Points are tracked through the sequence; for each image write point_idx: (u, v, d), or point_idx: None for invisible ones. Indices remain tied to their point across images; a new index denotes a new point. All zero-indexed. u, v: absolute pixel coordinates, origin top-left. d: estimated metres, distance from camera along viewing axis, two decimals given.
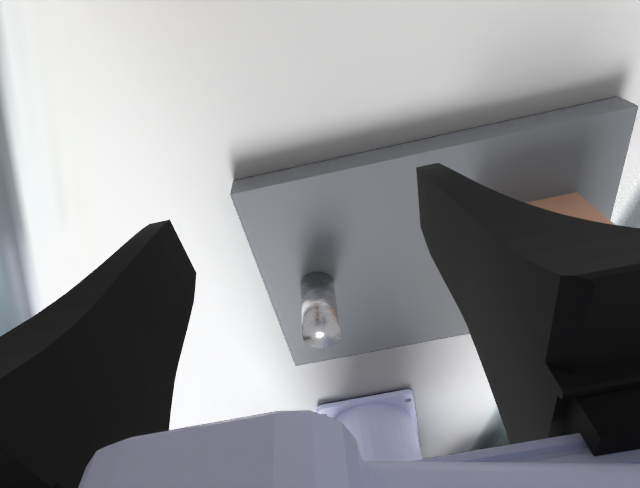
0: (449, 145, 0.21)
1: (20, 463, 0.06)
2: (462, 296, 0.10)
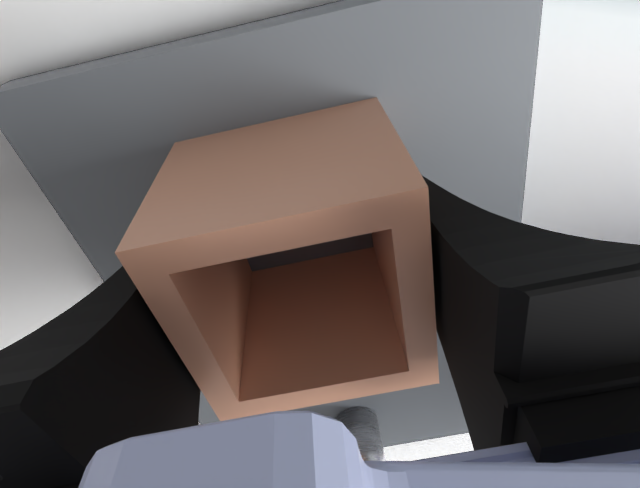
0: None
1: (69, 454, 0.06)
2: None
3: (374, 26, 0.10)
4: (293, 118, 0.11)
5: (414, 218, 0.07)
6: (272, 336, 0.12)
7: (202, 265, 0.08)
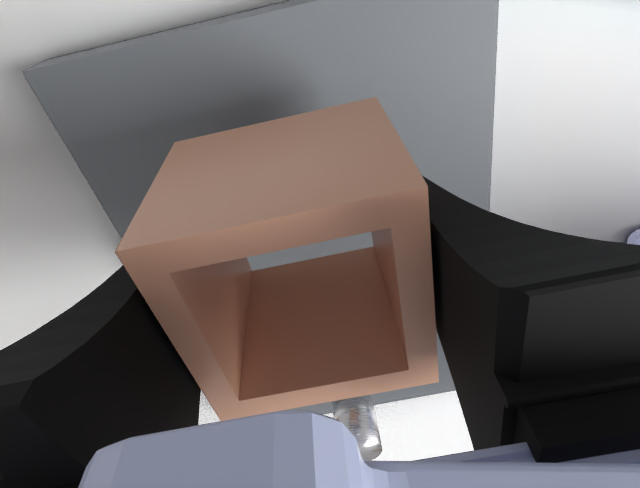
0: None
1: (68, 454, 0.06)
2: None
3: (358, 11, 0.12)
4: (292, 117, 0.11)
5: (413, 217, 0.08)
6: (272, 335, 0.12)
7: (202, 264, 0.08)
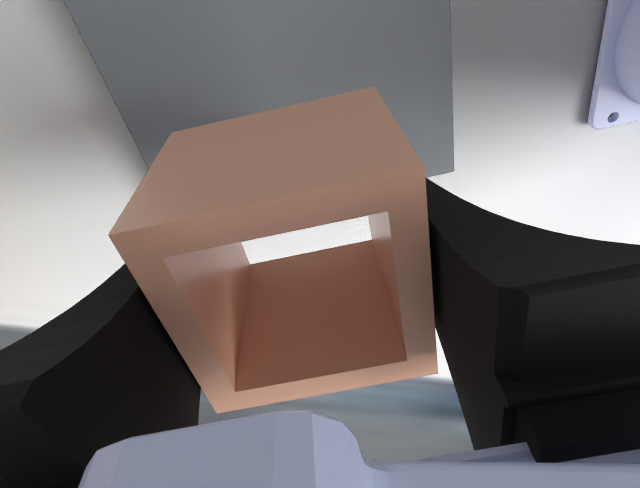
0: None
1: (68, 454, 0.06)
2: None
3: None
4: (290, 107, 0.11)
5: (411, 200, 0.07)
6: (269, 327, 0.12)
7: (197, 249, 0.08)
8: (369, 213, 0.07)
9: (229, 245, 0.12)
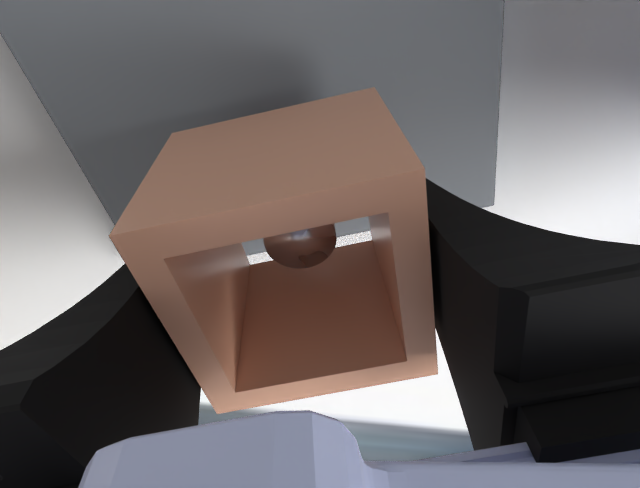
0: None
1: (68, 455, 0.06)
2: None
3: None
4: (290, 108, 0.11)
5: (411, 201, 0.07)
6: (269, 328, 0.12)
7: (197, 249, 0.08)
8: (369, 214, 0.08)
9: (229, 245, 0.12)
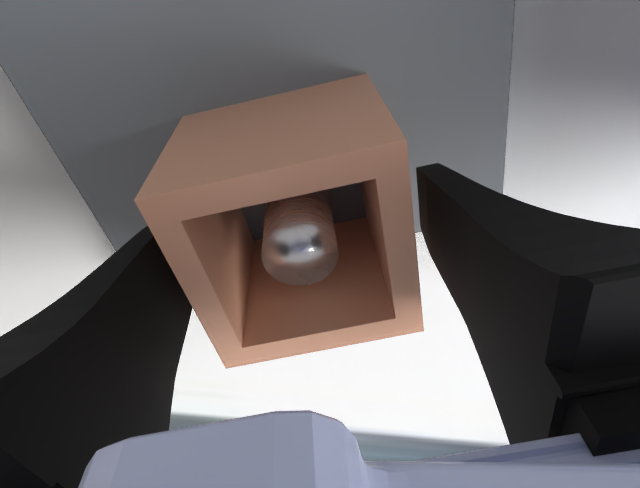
0: None
1: (20, 463, 0.06)
2: (462, 296, 0.10)
3: None
4: (290, 92, 0.12)
5: (395, 169, 0.09)
6: (272, 294, 0.13)
7: (210, 213, 0.09)
8: (359, 180, 0.09)
9: (235, 220, 0.13)
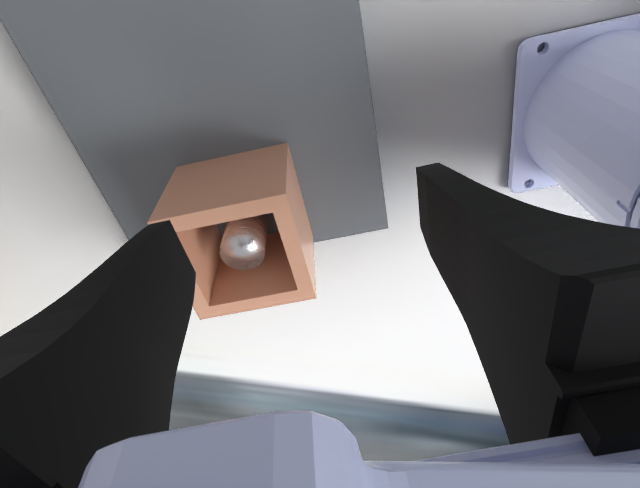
0: None
1: (19, 463, 0.06)
2: (462, 296, 0.10)
3: None
4: (241, 154, 0.20)
5: (282, 207, 0.16)
6: (230, 276, 0.21)
7: (187, 229, 0.17)
8: (264, 213, 0.17)
9: (209, 230, 0.21)
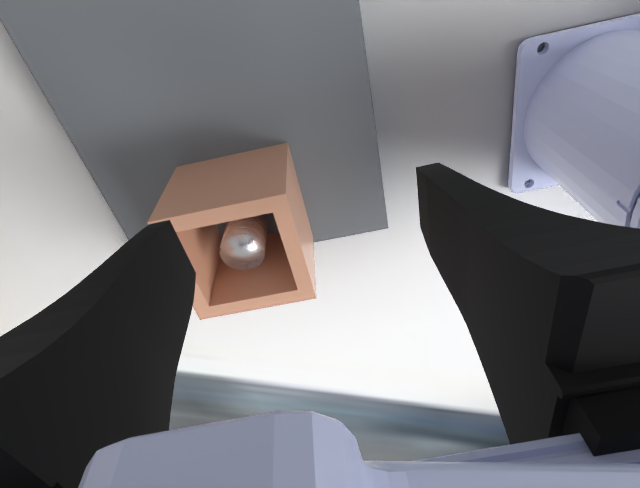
0: None
1: (19, 462, 0.06)
2: (462, 296, 0.10)
3: None
4: (241, 154, 0.20)
5: (282, 207, 0.16)
6: (230, 276, 0.21)
7: (187, 229, 0.17)
8: (264, 213, 0.17)
9: (209, 230, 0.21)
